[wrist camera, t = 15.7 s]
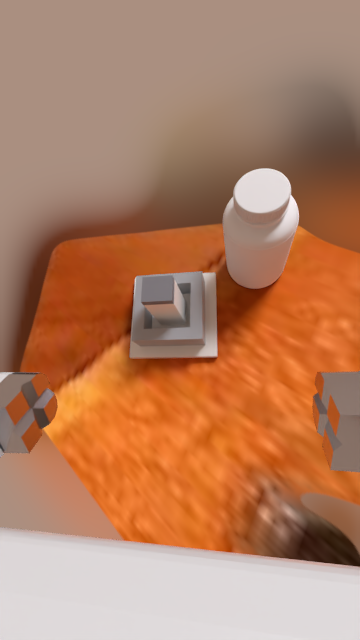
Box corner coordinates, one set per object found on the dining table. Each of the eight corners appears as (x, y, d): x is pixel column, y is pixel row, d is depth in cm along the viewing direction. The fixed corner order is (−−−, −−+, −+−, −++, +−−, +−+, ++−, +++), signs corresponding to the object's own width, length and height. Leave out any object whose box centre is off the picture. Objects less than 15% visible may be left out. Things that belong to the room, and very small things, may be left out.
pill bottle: (215, 267, 42) (203, 196, 28) (253, 231, 43) (260, 143, 29) (256, 302, 39) (266, 241, 25) (296, 262, 40) (328, 181, 26)
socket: (216, 275, 42) (213, 260, 37) (217, 357, 38) (215, 350, 34) (137, 280, 44) (126, 267, 40) (131, 358, 40) (119, 352, 36)
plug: (186, 303, 40) (172, 275, 32) (186, 324, 39) (171, 300, 31) (162, 304, 41) (142, 277, 32) (161, 325, 40) (140, 302, 31)
